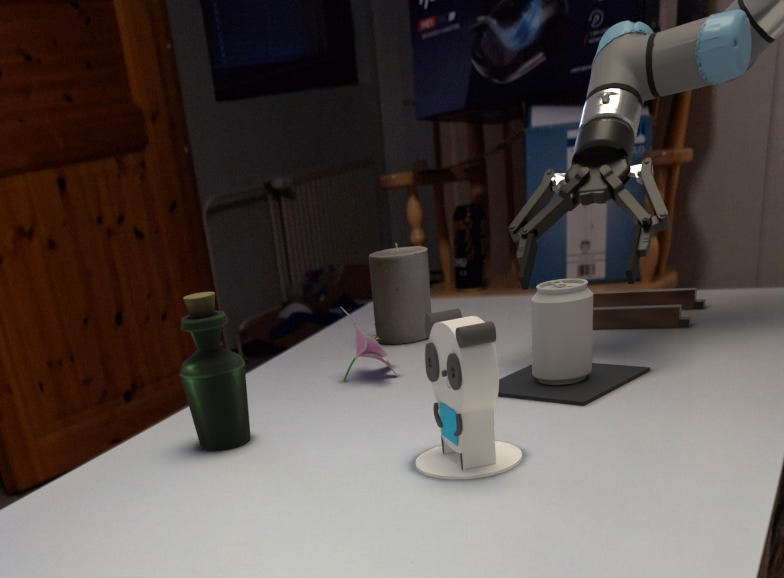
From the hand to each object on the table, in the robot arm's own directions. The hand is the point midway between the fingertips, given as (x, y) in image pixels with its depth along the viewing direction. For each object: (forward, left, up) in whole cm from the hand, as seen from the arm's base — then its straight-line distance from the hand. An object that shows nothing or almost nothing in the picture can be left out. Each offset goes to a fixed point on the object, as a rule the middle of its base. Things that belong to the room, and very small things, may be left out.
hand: (574, 280), depth 119 cm
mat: (-3, +4, -12) cm, 13 cm away
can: (-3, +4, -11) cm, 12 cm away
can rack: (+18, -25, -12) cm, 33 cm away
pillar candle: (+40, +3, -12) cm, 42 cm away
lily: (+22, +19, -12) cm, 32 cm away
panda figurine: (-19, +29, -12) cm, 36 cm away
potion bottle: (+9, +47, -12) cm, 49 cm away
